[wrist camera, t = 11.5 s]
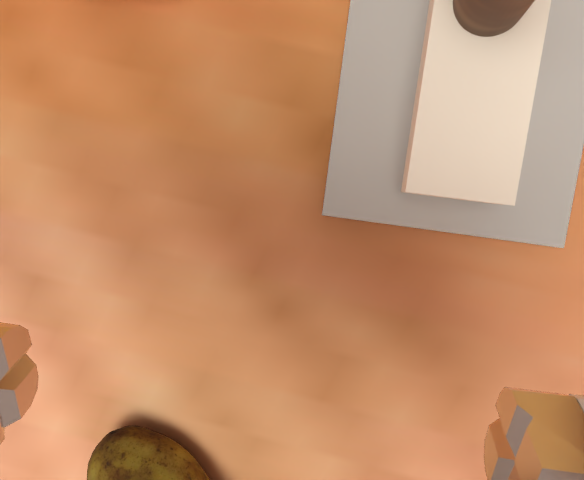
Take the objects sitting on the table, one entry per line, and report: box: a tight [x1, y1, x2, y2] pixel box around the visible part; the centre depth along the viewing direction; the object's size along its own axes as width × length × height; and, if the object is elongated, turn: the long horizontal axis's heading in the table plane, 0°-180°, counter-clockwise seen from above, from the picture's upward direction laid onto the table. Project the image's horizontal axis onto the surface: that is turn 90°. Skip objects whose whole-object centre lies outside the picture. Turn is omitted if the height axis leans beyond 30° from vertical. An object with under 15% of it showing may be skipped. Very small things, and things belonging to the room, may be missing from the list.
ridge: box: [322, 0, 584, 248], centre depth 26 cm, size 14×22×7 cm, turn 173°
